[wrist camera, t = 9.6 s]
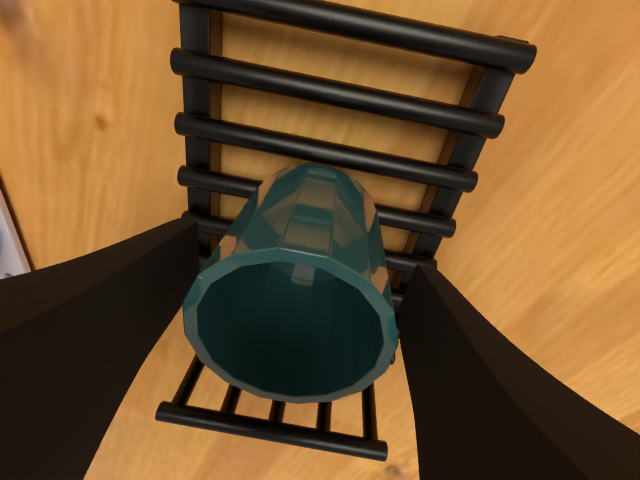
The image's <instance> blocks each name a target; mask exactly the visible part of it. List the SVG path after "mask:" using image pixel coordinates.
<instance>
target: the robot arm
mask: <svg viewBox="0 0 640 480" xmlns="http://www.w3.org/2000/svg"><path fill="white" fill-rule="evenodd" d="M199 272H200V269H199V232H198V222H196V221H191V220H186V219H181V218H179V219H176V220H173V221H170V222H167V223H165V224H162V225H160V226H157V227H155V228H153V229H150V230H148V231H146V232H143V233H141V234H138V235H136V236H133V237H131V238H129V239H126V240H124V241H121V242H119V243H116V244H114V245H111V246H108V247H106V248H103V249H100V250H97V251H95V252H92V253H89V254H87V255H84V256H81V257H78V258H75V259H72V260H69V261H66V262H63V263H60V264H56V265H53V266H49V267H46V268H42V269H39V270H35V271H32V272H31V269H30V266H29V264H28V261H27V258H26V256H25V253H24V250H23V248H22V245H21V242H20V240H19V237H18V234H17V232H16V229H15V226H14V224H13V221H12V218H11V216H10V213H9V210H8V208H7V205H6V202H5V200H4V197H3V194H2V192H1V189H0V480H83V479H84V477H85V474H86V472H87V470H88V468H89V466H90V464H91V462H92V460H93V458H94V456H95V454H96V452H97V450H98V448H99V446H100V443H101V441H102V439H103V437H104V435H105V433H106V431H107V429H108V427H109V425H110V423H111V422H112V420H113V418H114V416H115V414H116V412H117V410H118V408H119V406H120V404H121V402H122V400H123V398H124V396H125V395H126V393H127V391H128V389H129V387H130V385H131V384H132V382H133V380H134V378H135V376H136V374H137V373H138V371H139V369H140V367H141V366H142V364H143V362H144V361H145V359H146V358H147V356H148V354H149V353H150V352H151V350H152V349H153V347H154V346H155V344H156V343H157V341H158V340H159V338H160V337H161V335H162V334H163V333H164V331H165V330H166V328H167V327H168V325H169V324H170V322H171V321H172V319H173V318H174V316H175V315H176V314H177V312H178V311H179V309H180V308H181V306H182V305H183V301H184V299H185V297H186V295H187V294H188V292H189V290H190V288H191V286H192V284H193V283H194V281H195V279H196V277H197V275H198V274H199ZM398 326H399V339H400V344H401V349H402V355H403V360H404V365H405V370H406V375H407V380H408V385H409V390H410V395H411V400H412V406H413V412H414V419H415V429H416V440H417V450H418V463H419V477H420V480H640V435H639V434H638V433H636V432H634V431H633V430H631V429H630V428H628V427H626V426H625V425H623V424H622V423H620V422H619V421H617V420H615V419H614V418H612V417H611V416H609V415H608V414H606V413H605V412H603V411H602V410H600V409H599V408H597V407H596V406H594V405H593V404H591V403H590V402H588V401H587V400H585V399H584V398H583V397H581V396H580V395H578V394H577V393H576V392H574V391H573V390H571V389H570V388H569V387H567V386H566V385H564V384H563V383H562V382H560V381H559V380H557V379H556V378H555V377H553V376H552V375H551V374H550V373H548V372H547V371H546V370H544V369H543V368H542V367H540V366H539V365H538V364H537V363H536V362H534V361H533V360H532V359H531V358H529V357H528V356H527V355H526V354H524V353H523V352H522V351H521V350H520V349H518V348H517V347H516V346H515V345H514V344H513V343H511V342H510V341H509V340H508V339H507V338H506V337H505V336H504V335H503V334H502V333H500V332H499V331H498V330H497V329H496V328H495V327H494V326H493V325H492V324H491V323H490V322H489V321H488V320H487V319H486V318H485V317H483V316H482V315H481V314H480V313H479V312H478V311H477V310H476V309H475V308H474V307H473V306H472V304H471V303H470V302H469V301H468V300H467V299H466V298H465V297H464V296H463V295H462V294H461V293H460V292H459V291H458V290H457V289H456V288H455V287H454V286H453V285H452V284H451V283H450V282H449V281H448V280H447V279H446V278H445V277H444V276H443V275H442V274H441V273H440V272H439V271H438V270H437V269H436V268H434V267H429V266H424V265H418V264H417V265H416V267H415V270H414V272H413V275H412V277H411V279H410V282H409V284H408V287H407V289H406V291H405V294H404V296H403V299H402V301H401V303H400V306H399V308H398Z"/></svg>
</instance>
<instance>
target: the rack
mask: <svg viewBox="0 0 640 480" xmlns="http://www.w3.org/2000/svg"><path fill="white" fill-rule="evenodd" d="M172 1H173V2H176V3H179V11H180V33H181V48H177V47H176V48H173V49H172V51H171V55H170V64H171V69H172V71H173V72H174V73H175V74H176V75H181V76H182V78H183V101H184V112H179V113H177V115H176V117H175V121H174V127H175V131H176V133H177V134H179V135H182V136H185V146H186V166H185V165H183V166H181V167H180V168H179V171H178V175H177V180H178V183H179V184H180V185H181V186H186V187H187V191H188V211H184V212H183V214H182V216H181V219H186V220H191V221H196V222H198V232H199V269H200V271H201V269H202V268H203V267H204V265H205V264H206V262H207V261H208V259H209V258H210V256H211V255H212V253H213V252H214V250H215V249H216V247H217V246H218V244H219V236H225V234H226V233H227V231H228V230H229V228H230V227H231V225H232V224H233V222H234V221H235V220H234V219H229V218H223V217H219V210H220V193H222V194H227V195H232V196H237V197H242V198H247V199H250V197H251V196H252V194H253V193H254V191H255V190H256V188H257V187H259V186H260V185H261V184H262V183H263V181H261V180H256V179H251V178H246V177H240V176H235V175H230V174H225V173H220V143H222V144H227V145H232V146H237V147H242V148H247V149H252V150H257V151H262V152H267V153H272V154H277V155H282V156H287V157H292V158H297V159H302V160H307V161H312V162H317V163H322V164H327V165H332V166H337V167H342V168H347V169H352V170H357V171H362V172H367V173H372V174H377V175H382V176H387V177H392V178H397V179H402V180H407V181H412V182H417V183H422V184H427V185H429V187H428V189H427V192H426V194H425V197H424V200H423V202H422V205H421V208H420V210H419V212H417V211H412V210H407V209H402V208H397V207H392V206H387V205H382V204H377V203H374V205H375V208H376V210H377V212H378V218H379V224H380V225H384V226H389V227H394V228H400V229H405V230H410V231H411V234H410V237H409V239H408V242H407V244H406V247H405V250H404V252H397V251H392V250H387V249H384V253H385V259H386V265H387V268H388V269H394V270H397V271H396V273H395V276H394V279H393V281H392V284H391V287H390V289H391V295H392V301H393V307H394V313H395V320H396V327H397V334H398V338H399V326H398V308H399V306H400V303H401V301H402V299H403V296H404V294H405V291H406V289H407V287H408V284H409V282H410V279H411V277H412V275H413V272H414V270H415V267H416V265H417V264H418V265H424V266H429V267H434V268H436V269H437V261H436V260H435V259H433V258H434V256H435V254H436V251H437V249H438V247H439V245H440V242H441V240H442V238H443V237H445V238H451V237H452V236H453V235H454V233H455V230H456V221H455V219H452V215H453V213H454V211H455V209H456V206H457V204H458V202H459V200H460V197H461V195H462V193H463V192H467V193H470V192H472V191H473V190H474V189H475V187H476V184H477V181H478V174H477V172H475V171H472V170H473V168H474V166H475V164H476V161H477V159H478V157H479V155H480V152H481V150H482V148H483V146H484V143H485V141H486V139H487V138H489V139H495V138H497V137H498V136H499V134H500V133H501V131H502V129H503V127H504V123H505V118H504V116H503V115H501V114H498V112H499V110H500V107H501V105H502V103H503V101H504V98H505V96H506V94H507V92H508V89H509V87H510V85H511V83H512V80H513V78H514V76H515V74H524V73H525V72H527V71H528V69H529V68H530V67H531V65H532V64H533V62H534V60H535V57H536V53H537V47H536V46H535V45H532V44H529V42H528V41H524V40H519V39H514V38H510V37H505V36H489V35H485V34H480V33H475V32H470V31H466V30H461V29H456V28H452V27H447V26H442V25H437V24H433V23H428V22H423V21H418V20H414V19H409V18H404V17H400V16H395V15H390V14H385V13H381V12H376V11H371V10H366V9H362V8H357V7H352V6H348V5H343V4H338V3H333V2H329V1H324V0H172ZM222 12H224V13H228V14H233V15H238V16H243V17H248V18H252V19H257V20H262V21H267V22H271V23H276V24H281V25H286V26H291V27H295V28H300V29H305V30H310V31H314V32H319V33H324V34H329V35H334V36H338V37H343V38H348V39H353V40H357V41H362V42H367V43H372V44H377V45H381V46H386V47H391V48H396V49H400V50H405V51H410V52H415V53H420V54H424V55H429V56H434V57H439V58H443V59H448V60H453V61H458V62H463V63H467V64H472V65H474V68H473V71H472V73H471V76H470V79H469V81H468V84H467V87H466V89H465V92H464V94H463V97H462V100H461V102H460V105H459V106H458V105H453V104H448V103H443V102H438V101H434V100H429V99H424V98H419V97H414V96H409V95H404V94H400V93H395V92H390V91H385V90H380V89H375V88H371V87H366V86H361V85H356V84H351V83H346V82H341V81H337V80H332V79H327V78H322V77H317V76H312V75H307V74H303V73H298V72H293V71H288V70H283V69H278V68H274V67H269V66H264V65H259V64H254V63H249V62H244V61H240V60H235V59H230V58H225V57H221V52H222ZM221 84H225V85H229V86H234V87H239V88H244V89H249V90H254V91H259V92H264V93H269V94H273V95H278V96H283V97H288V98H293V99H298V100H303V101H308V102H313V103H317V104H322V105H327V106H332V107H337V108H342V109H347V110H352V111H357V112H362V113H366V114H371V115H376V116H381V117H386V118H391V119H396V120H401V121H406V122H410V123H415V124H420V125H425V126H430V127H435V128H440V129H445V130H450V131H449V134H448V137H447V139H446V142H445V144H444V147H443V150H442V152H441V155H440V158H439V160H438V163H437V164H436V163H431V162H426V161H421V160H416V159H411V158H407V157H402V156H397V155H392V154H387V153H382V152H377V151H372V150H367V149H362V148H357V147H352V146H347V145H342V144H337V143H332V142H327V141H322V140H317V139H312V138H307V137H303V136H298V135H293V134H288V133H283V132H278V131H273V130H268V129H263V128H258V127H253V126H248V125H243V124H238V123H233V122H228V121H223V120H221ZM394 361H395V353H394V355H393V358H392V360H391V362H390V365H392V364H394ZM204 366H205V364H203V363H202V362H201V361H200V359H199V358H198V356H197V354H195V356H194V358H193V360H192V362H191V364H190V366H189V368H188V370H187V372H186V374H185V376H184V378H183V380H182V382H181V384H180V386H179V388H178V390H177V392H176V394H175V396H174V398H173V400H172V402H168V401H162V402H161V403H160V405H159V407H158V409H157V411H156V415H155V419H156V420H157V421H162V422H167V423H173V424H178V425H184V426H189V427H195V428H201V429H206V430H212V431H217V432H223V433H228V434H234V435H239V436H245V437H250V438H256V439H261V440H267V441H272V442H278V443H284V444H289V445H295V446H300V447H306V448H311V449H317V450H322V451H328V452H333V453H339V454H344V455H350V456H355V457H361V458H367V459H372V460H378V461H383V462H384V461H386V459H387V455H388V447H387V443H386V442H385V441H382V440H378V434H377V420H376V406H375V392H374V382H373V383H371V384H370V385H369V386H368V387H366V388H365V389H364V390H362V418H363V437H360V436H354V435H349V434H343V433H338V432H332V431H330V427H331V408H332V401H330V402H318V410H317V421H316V428H310V427H305V426H299V425H294V424H288V423H283V417H284V411H285V406H286V402H283V401H278V400H272V405H271V409H270V414H269V418H268V420H266V419H261V418H255V417H250V416H244V415H239V414H235V411H236V408H237V404H238V401H239V398H240V395H241V392H242V389H240V388H238V387H235V386H233V385H231V384H229V387H228V390H227V393H226V396H225V398H224V401H223V404H222V407H221V409H220V411H217V410H211V409H206V408H200V407H195V406H189V405H187V403H188V400H189V398H190V396H191V394H192V392H193V390H194V387H195V385H196V383H197V381H198V379H199V377H200V374H201V372H202V370H203V368H204Z"/></svg>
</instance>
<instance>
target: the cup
mask: <svg viewBox="0 0 640 480" xmlns="http://www.w3.org/2000/svg"><path fill="white" fill-rule="evenodd" d="M182 306H183V321H184V333H185V336H186V338H187V339H188V341H189V343H190V344H191V346H192V348H193V349H194V351H195V353H196V354H197V356H198V358H199V359H200V361H201V362H202V363H203V364H205V365H206V366H207V367H208V368H210V369H211V370H212V371H213V372H214V373H216V374H217V375H218V376H219V377H221V378H222V379H223V380H224V381H225V382H228V383H229V384H231V385H233V386H235V387H238V388H240V389H242V390H245V391H247V392H249V393H251V394H254V395H256V396H258V397H261V398H267V399H272V400H278V401H283V402H289V403H296V404H298V403H317V402H330V401H334V400H337V399H340V398H343V397H346V396H349V395H352V394H355V393H358V392H361V391H362V390H364V389H365V388H366V387H368V386H369V385H370V384H371V383H373V382H374V381H375V380H376V379H378V378H379V377H380V376H381V375H383V374H384V373H385V372H386V371H387V369H388V367H389V364H390V362H391V360H392V358H393V355H394V353H395V351H396V349H397V347H398V343H399V342H398V334H397V327H396V320H395V313H394V307H393V301H392V295H391V289H390V283H389V277H388V271H387V265H386V259H385V253H384V247H383V241H382V236H381V230H380V224H379V218H378V212H377V210H376V208H375V205H374V202H373V201H372V199H371V197H370V195H369V194H368V193H367V191H366V190H365V189H364V188H363V187H362V186H361V185H360V184H359V183H358V182H357V181H356V180H355V179H353V178H352V177H351V176H349V175H347V174H346V173H344V172H342V171H340V170H337V169H335V168H332V167H328V166H324V165H317V164H301V165H295V166H291V167H287V168H284V169H282V170H280V171H278V172H276V173H274V174H272V175H271V176H269V177H268V178H267V179H266V180H265V181H263V183H262V184H261V185H260V186H259V187H257V188H256V190H255V191H254V193H253V194H252V196H251V197H250V199H249V200H248V202H247V203H246V205H245V206H244V207H243V209H242V210H241V212H240V213H239V215H238V216H237V218H236V219H235V221H234V222H233V224H232V225H231V227H230V228H229V230H228V231H227V233H226V234H225V236H224V237H223V238H222V240H221V241H220V243H219V244H218V246H217V247H216V249H215V250H214V252H213V253H212V255H211V256H210V258H209V259H208V261H207V262H206V264H205V265H204V267H203V268H202V269H201V271H200V272H199V274H198V275H197V277H196V279H195V281H194V283H193V284H192V286H191V288H190V290H189V292H188V294H187V295H186V297H185V299H184V301H183V305H182Z"/></svg>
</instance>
